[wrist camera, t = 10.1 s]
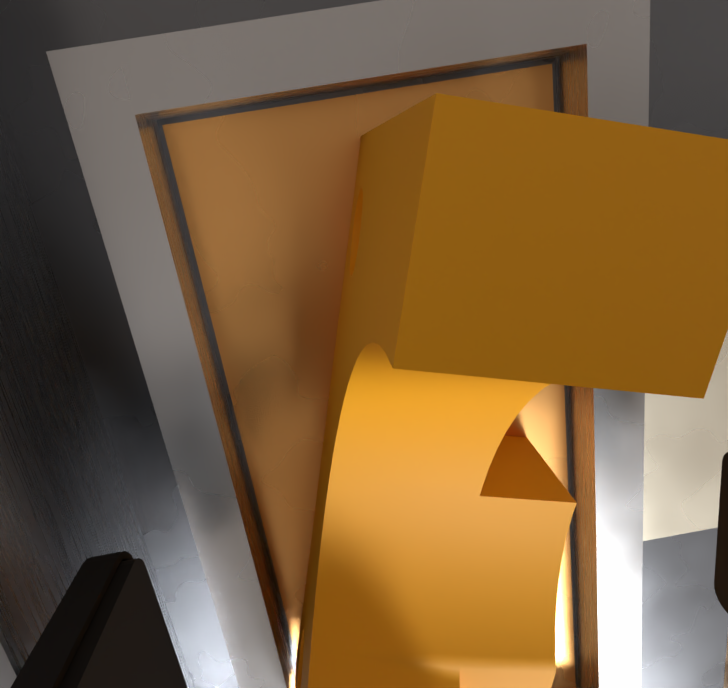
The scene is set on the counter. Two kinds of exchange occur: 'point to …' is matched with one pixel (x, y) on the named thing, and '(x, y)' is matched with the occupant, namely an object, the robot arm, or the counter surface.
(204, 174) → the grey tray with recess
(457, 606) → the orange notched block
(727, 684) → the counter surface
